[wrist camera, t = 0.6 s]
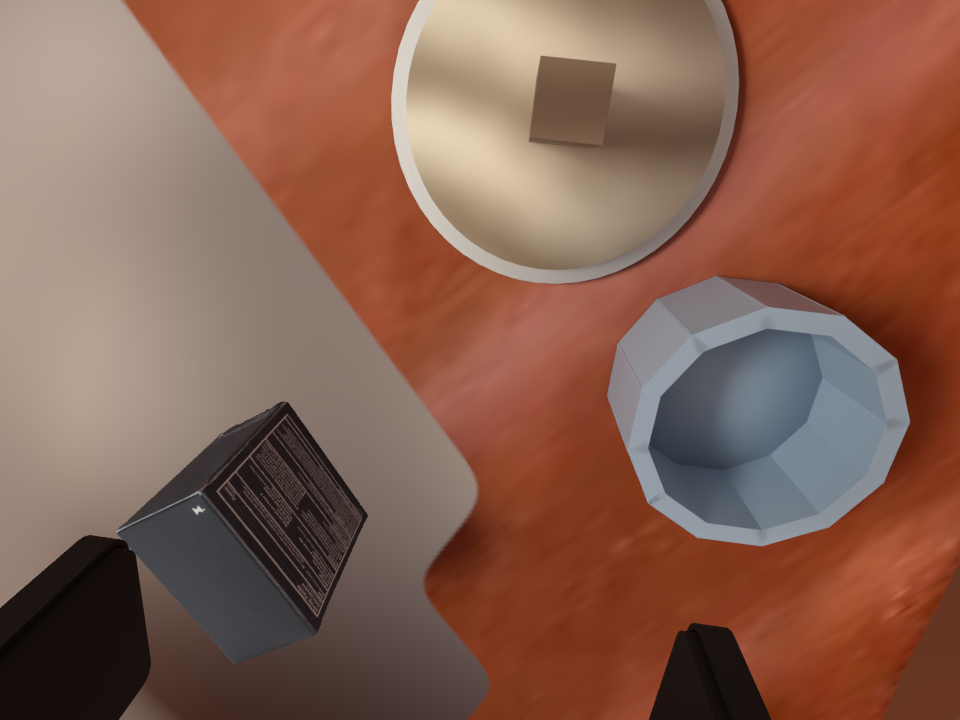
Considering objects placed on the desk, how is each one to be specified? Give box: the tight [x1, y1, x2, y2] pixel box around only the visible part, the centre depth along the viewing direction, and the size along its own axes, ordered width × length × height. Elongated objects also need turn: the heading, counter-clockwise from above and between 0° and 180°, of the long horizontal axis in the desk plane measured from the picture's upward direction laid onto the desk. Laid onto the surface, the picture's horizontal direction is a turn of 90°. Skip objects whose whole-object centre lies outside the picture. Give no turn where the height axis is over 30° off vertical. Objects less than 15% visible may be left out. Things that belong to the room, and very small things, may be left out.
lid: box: [406, 0, 726, 270], centre depth 25 cm, size 16×16×7 cm
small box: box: [116, 402, 368, 663], centre depth 33 cm, size 11×6×10 cm, turn 29°
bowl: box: [607, 276, 910, 546], centre depth 30 cm, size 13×13×7 cm
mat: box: [391, 0, 739, 284], centre depth 29 cm, size 18×18×1 cm
